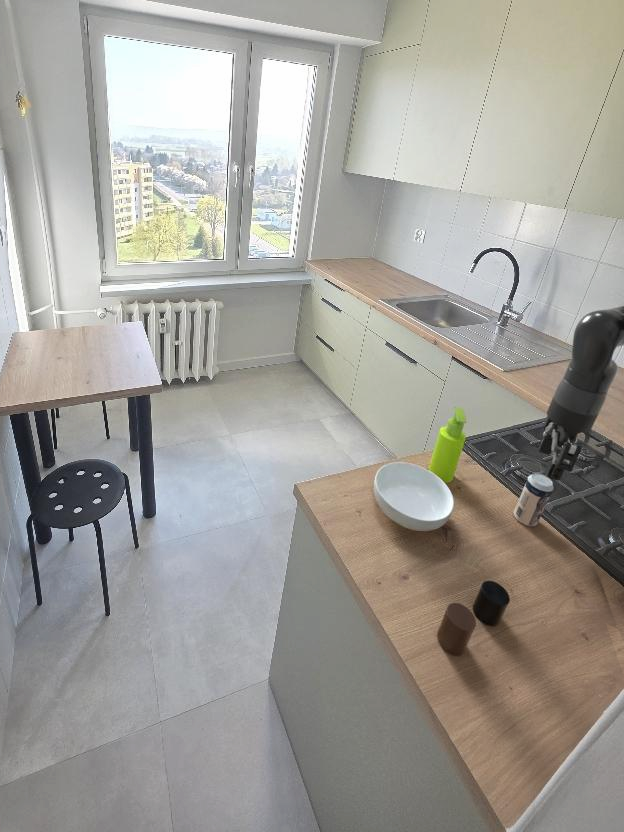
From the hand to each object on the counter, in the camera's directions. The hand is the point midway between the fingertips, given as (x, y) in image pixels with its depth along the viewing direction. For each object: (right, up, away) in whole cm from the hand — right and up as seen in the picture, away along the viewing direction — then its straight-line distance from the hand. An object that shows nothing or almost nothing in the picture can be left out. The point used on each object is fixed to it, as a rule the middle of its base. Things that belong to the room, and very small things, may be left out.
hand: (548, 464), depth 90 cm
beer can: (-1, -15, +7) cm, 16 cm away
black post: (-21, -23, -13) cm, 34 cm away
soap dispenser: (-14, -9, +18) cm, 25 cm away
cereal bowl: (-27, -13, +7) cm, 31 cm away
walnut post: (-30, -24, -18) cm, 43 cm away
